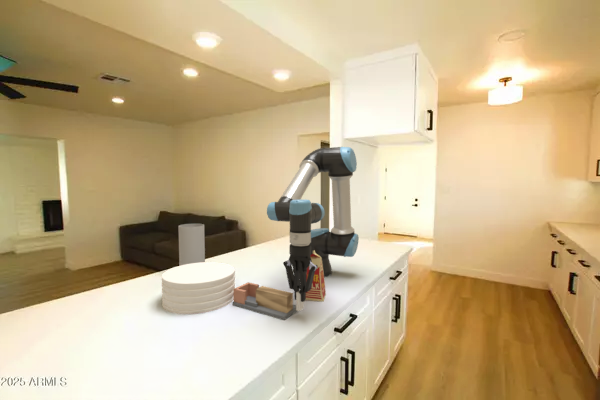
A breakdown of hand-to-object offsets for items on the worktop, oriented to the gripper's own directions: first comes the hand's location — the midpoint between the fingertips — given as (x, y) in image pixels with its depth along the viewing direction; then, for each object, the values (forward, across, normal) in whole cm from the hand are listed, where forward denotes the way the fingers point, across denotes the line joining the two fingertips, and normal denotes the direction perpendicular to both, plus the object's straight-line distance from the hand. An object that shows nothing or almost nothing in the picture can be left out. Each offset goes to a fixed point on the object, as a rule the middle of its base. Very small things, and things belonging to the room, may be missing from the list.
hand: (299, 309), depth 103 cm
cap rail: (+3, -15, 0) cm, 16 cm away
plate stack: (+3, -43, -7) cm, 44 cm away
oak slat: (+1, -11, 0) cm, 11 cm away
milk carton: (+3, -4, +19) cm, 20 cm away
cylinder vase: (+3, -73, +14) cm, 75 cm away
